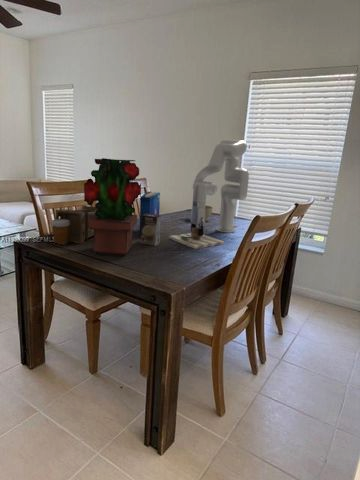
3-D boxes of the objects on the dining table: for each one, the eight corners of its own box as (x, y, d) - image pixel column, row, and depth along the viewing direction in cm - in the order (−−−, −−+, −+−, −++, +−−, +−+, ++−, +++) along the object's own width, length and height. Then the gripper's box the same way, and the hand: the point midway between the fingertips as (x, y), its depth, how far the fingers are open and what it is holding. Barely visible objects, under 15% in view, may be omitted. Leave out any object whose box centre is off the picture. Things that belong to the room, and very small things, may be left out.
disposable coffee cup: (50, 245, 169) (49, 222, 166) (53, 240, 178) (52, 218, 175) (69, 245, 170) (68, 223, 167) (72, 240, 179) (71, 219, 176)
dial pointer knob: (199, 236, 197) (200, 226, 196) (202, 238, 193) (203, 228, 191) (180, 237, 193) (180, 227, 192) (182, 239, 189) (183, 229, 187)
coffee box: (140, 243, 183) (141, 214, 178) (145, 240, 188) (146, 213, 184) (155, 245, 180) (156, 217, 176) (160, 243, 186) (161, 215, 181)
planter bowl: (186, 219, 255) (187, 205, 252) (200, 217, 266) (201, 204, 263) (201, 223, 244) (202, 209, 241) (215, 221, 255) (217, 207, 252)
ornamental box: (92, 232, 211) (88, 203, 208) (116, 231, 206) (113, 202, 202) (56, 243, 179) (51, 209, 175) (84, 244, 173) (80, 209, 170)
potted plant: (97, 244, 176) (97, 157, 164) (139, 247, 176) (141, 160, 164) (85, 256, 155) (83, 158, 143) (132, 260, 154) (134, 161, 143)
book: (149, 237, 195) (150, 195, 189) (137, 236, 197) (139, 194, 190) (158, 230, 216) (160, 191, 210) (148, 228, 217) (149, 190, 211)
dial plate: (196, 234, 210) (197, 232, 210) (223, 243, 192) (224, 241, 192) (169, 238, 197) (169, 235, 196) (195, 248, 179) (195, 245, 178)
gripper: (186, 201, 195) (184, 230, 199) (199, 207, 180) (197, 237, 184) (198, 201, 198) (196, 229, 202) (211, 206, 183) (209, 236, 187)
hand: (196, 233), depth 193 cm, fingers open, 9 cm apart
